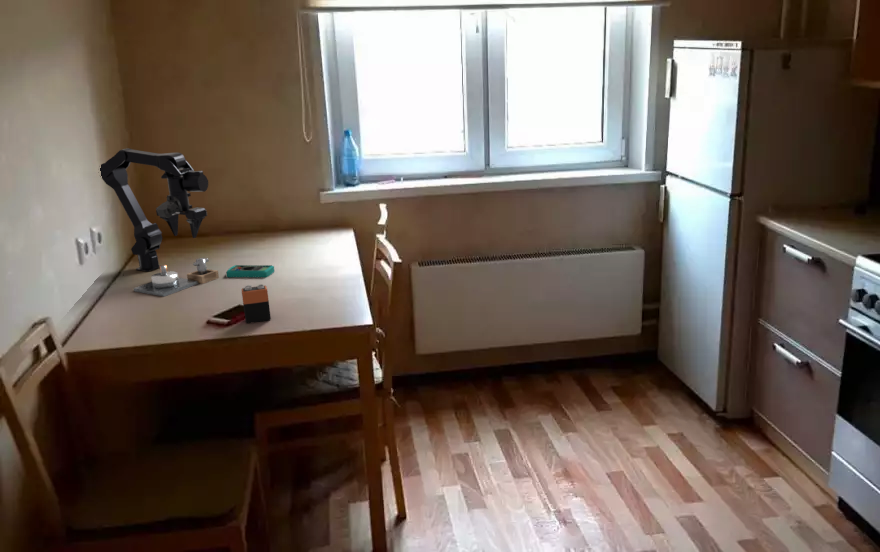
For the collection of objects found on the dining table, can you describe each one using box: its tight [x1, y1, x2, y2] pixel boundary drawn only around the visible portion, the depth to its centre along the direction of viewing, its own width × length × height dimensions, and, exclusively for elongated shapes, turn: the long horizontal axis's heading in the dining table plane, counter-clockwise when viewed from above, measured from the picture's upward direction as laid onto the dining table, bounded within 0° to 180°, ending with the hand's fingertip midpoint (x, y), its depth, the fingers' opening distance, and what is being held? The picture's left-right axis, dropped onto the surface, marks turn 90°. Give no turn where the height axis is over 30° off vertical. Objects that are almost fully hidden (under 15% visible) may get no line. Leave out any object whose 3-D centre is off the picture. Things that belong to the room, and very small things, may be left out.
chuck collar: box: [151, 264, 179, 288], centre depth 252 cm, size 16×8×6 cm, turn 21°
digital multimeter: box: [225, 264, 275, 279], centre depth 260 cm, size 7×15×3 cm, turn 79°
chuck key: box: [192, 257, 209, 275], centre depth 256 cm, size 3×6×7 cm, turn 149°
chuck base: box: [133, 277, 199, 297], centre depth 250 cm, size 14×14×1 cm
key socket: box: [186, 268, 220, 285], centre depth 256 cm, size 7×7×2 cm
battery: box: [241, 284, 272, 324], centre depth 215 cm, size 4×7×10 cm, turn 106°
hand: (185, 236), depth 264 cm, fingers open, 9 cm apart
